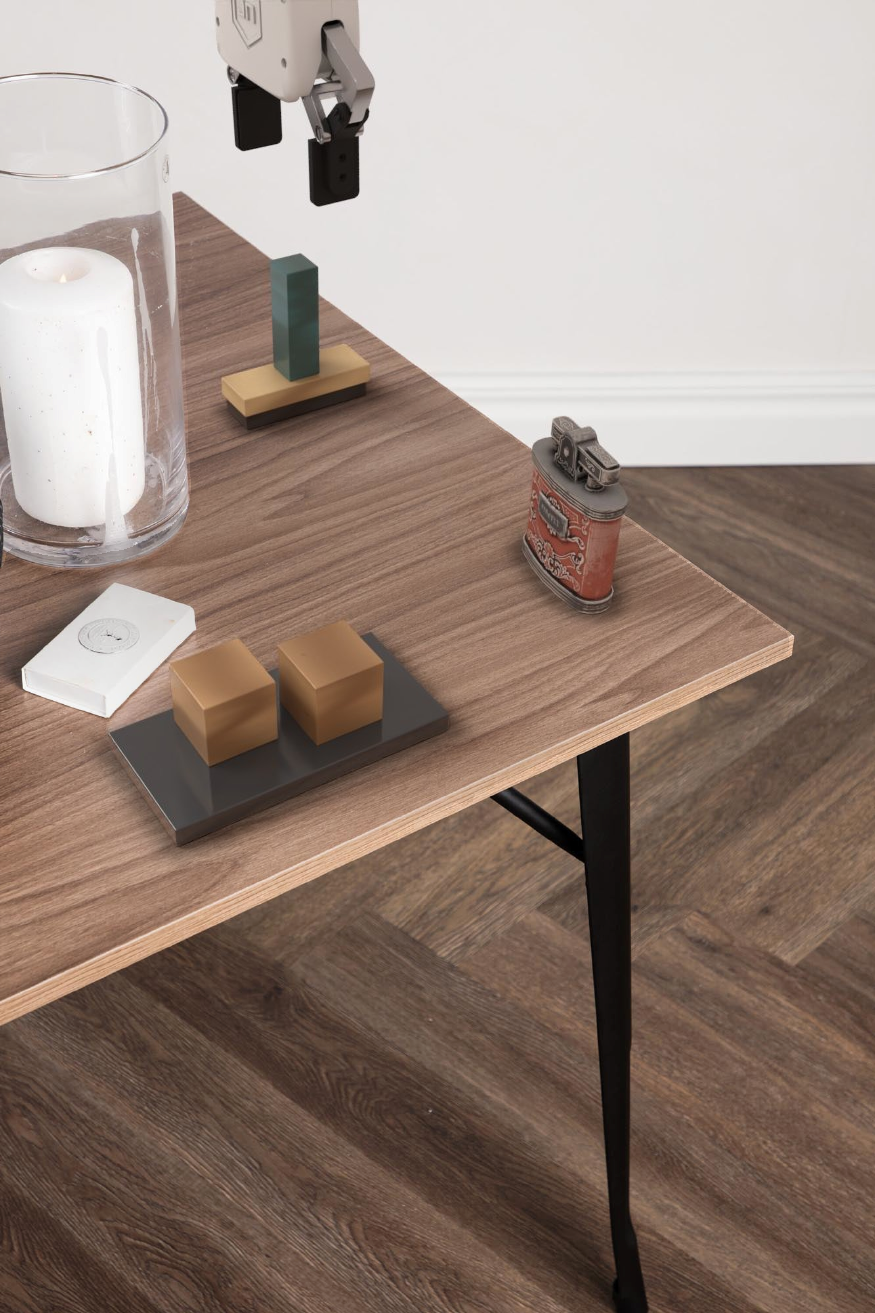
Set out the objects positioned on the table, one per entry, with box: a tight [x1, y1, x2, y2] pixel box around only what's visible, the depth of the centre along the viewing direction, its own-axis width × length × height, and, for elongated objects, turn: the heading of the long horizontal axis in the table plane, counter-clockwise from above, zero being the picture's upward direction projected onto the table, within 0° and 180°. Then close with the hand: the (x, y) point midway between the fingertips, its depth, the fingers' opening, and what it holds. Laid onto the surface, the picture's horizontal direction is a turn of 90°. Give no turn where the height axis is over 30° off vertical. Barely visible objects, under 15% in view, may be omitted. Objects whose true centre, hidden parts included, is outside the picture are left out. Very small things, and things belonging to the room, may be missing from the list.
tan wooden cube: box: [168, 637, 278, 767], centre depth 72 cm, size 4×4×4 cm
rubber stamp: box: [221, 252, 371, 431], centre depth 97 cm, size 10×4×11 cm, turn 124°
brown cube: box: [276, 619, 384, 746], centre depth 74 cm, size 4×4×4 cm
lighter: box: [521, 415, 629, 615], centre depth 84 cm, size 8×3×10 cm, turn 27°
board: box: [107, 631, 450, 847], centre depth 75 cm, size 16×8×1 cm, turn 124°
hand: (295, 172), depth 89 cm, fingers open, 9 cm apart
